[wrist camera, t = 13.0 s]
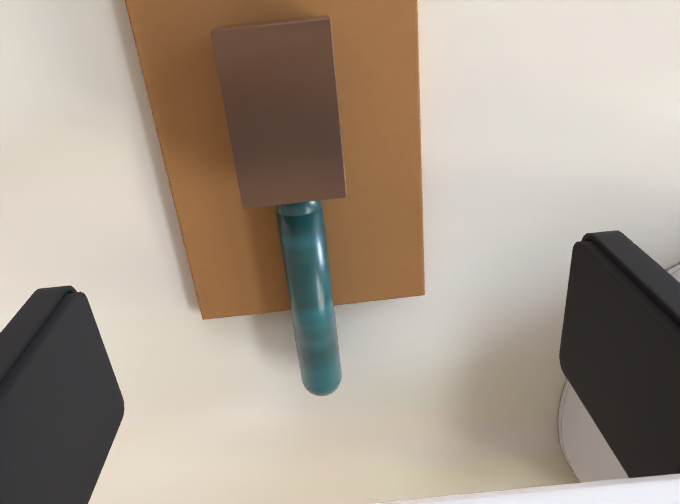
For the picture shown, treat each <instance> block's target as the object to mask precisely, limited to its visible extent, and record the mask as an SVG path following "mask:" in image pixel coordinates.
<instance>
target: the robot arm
mask: <svg viewBox="0 0 680 504" xmlns="http://www.w3.org/2000/svg"><path fill="white" fill-rule="evenodd" d="M559 358H560V364H561V368H562V371H563V373H564V375H565V376H566V378H567V379H568V381H569V383H570V384H571V386H572V387H573V389H574V391H575V392H576V394H577V395H578V397H579V399H580V400H581V402H582V403H583V405H584V407H585V408H586V410H587V411H588V413H589V415H590V416H591V418H592V419H593V421H594V423H595V424H596V426H597V427H598V429H599V431H600V432H601V434H602V435H603V437H604V439H605V440H606V442H607V443H608V445H609V447H610V448H611V450H612V452H613V453H614V455H615V456H616V458H617V460H618V461H619V463H620V464H621V466H622V468H623V469H624V471H625V472H626V474H627V476H628V477H629V478H626V479H614V480H603V481H592V482H582V483H572V484H562V485H551V486H541V487H531V488H521V489H511V490H500V491H490V492H480V493H470V494H459V495H449V496H439V497H429V498H420V499H410V500H400V501H390V502H381V503H371V504H680V282H678V281H677V280H676V279H675V278H674V277H673V276H672V275H670V274H669V273H668V272H667V271H666V270H665V269H663V268H662V267H661V266H660V265H659V264H658V263H656V262H655V261H654V260H653V259H652V258H651V257H649V256H648V255H647V254H646V253H645V252H644V251H642V250H641V249H640V248H639V247H638V246H637V245H635V244H634V243H633V242H632V241H631V240H630V239H628V238H627V237H626V236H625V235H624V234H623V233H621V232H620V231H607V232H597V233H587V234H585V235H584V237H583V238H582V241H581V242H576V243H575V244H574V246H573V251H572V259H571V267H570V274H569V282H568V290H567V298H566V306H565V314H564V322H563V330H562V337H561V345H560V354H559ZM123 415H124V401H123V397H122V394H121V391H120V389H119V386H118V383H117V380H116V377H115V375H114V372H113V369H112V366H111V363H110V361H109V358H108V355H107V352H106V349H105V347H104V344H103V341H102V338H101V335H100V333H99V330H98V327H97V324H96V321H95V319H94V316H93V313H92V310H91V308H90V305H89V302H88V299H87V297H86V295H85V294H84V293H82V292H77V291H76V290H75V289H74V288H73V287H72V286H61V287H51V288H41V289H37V290H36V291H35V292H34V293H33V294H32V296H31V297H30V298H29V299H28V300H27V302H26V303H25V304H24V305H23V306H22V308H21V309H20V310H19V311H18V312H17V314H16V315H15V316H14V317H13V318H12V320H11V321H10V322H9V323H8V324H7V326H6V327H5V328H4V329H3V331H2V332H1V333H0V504H88V502H89V500H90V497H91V495H92V492H93V490H94V487H95V485H96V483H97V480H98V478H99V475H100V473H101V470H102V468H103V465H104V463H105V460H106V458H107V455H108V453H109V450H110V448H111V446H112V443H113V441H114V438H115V436H116V433H117V431H118V428H119V426H120V423H121V421H122V418H123Z"/></svg>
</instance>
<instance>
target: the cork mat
mask: <svg viewBox="0 0 680 504" xmlns="http://www.w3.org/2000/svg"><path fill="white" fill-rule="evenodd" d="M125 2H126V6H127V10H128V14H129V18H130V22H131V26H132V31H133V35H134V39H135V43H136V47H137V51H138V55H139V59H140V63H141V68H142V72H143V76H144V80H145V84H146V88H147V92H148V96H149V100H150V105H151V109H152V113H153V117H154V121H155V125H156V129H157V133H158V137H159V142H160V146H161V150H162V154H163V158H164V162H165V166H166V170H167V174H168V178H169V183H170V187H171V191H172V195H173V199H174V203H175V207H176V211H177V215H178V220H179V224H180V228H181V232H182V236H183V240H184V244H185V248H186V252H187V257H188V261H189V265H190V269H191V273H192V277H193V281H194V285H195V289H196V294H197V298H198V302H199V306H200V310H201V314H202V318H203V319H213V318H222V317H231V316H240V315H249V314H258V313H267V312H276V311H285V310H291V307H290V301H289V294H288V288H287V281H286V275H285V268H284V262H283V256H282V249H281V243H280V236H279V230H278V223H277V217H276V211H275V205H274V206H264V207H255V208H246V209H243V206H242V200H241V195H240V189H239V184H238V179H237V173H236V168H235V162H234V157H233V151H232V146H231V141H230V135H229V130H228V124H227V119H226V113H225V108H224V103H223V97H222V92H221V86H220V81H219V75H218V70H217V65H216V59H215V54H214V48H213V43H212V37H211V30H213V29H215V28H216V27H218V26H225V25H235V24H245V23H254V22H264V21H274V20H283V19H293V18H303V17H312V16H322V15H328V16H329V17H330V19H331V25H332V36H333V47H334V58H335V69H336V80H337V91H338V102H339V113H340V124H341V135H342V146H343V157H344V168H345V179H346V190H347V197H346V198H338V199H329V200H321V201H322V207H323V215H324V224H325V233H326V242H327V250H328V259H329V268H330V277H331V286H332V294H333V303H334V305H339V304H348V303H357V302H366V301H375V300H385V299H394V298H403V297H412V296H421V295H425V284H424V246H423V207H422V168H421V129H420V90H419V51H418V13H417V0H125Z"/></svg>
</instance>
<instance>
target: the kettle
mask: <svg viewBox="0 0 680 504" xmlns="http://www.w3.org/2000/svg"><path fill="white" fill-rule="evenodd" d="M667 272H668V273H669V274H670V275H672V276H673V277H674V278H675V279H676V280H677V281H678V282H680V264H678V265H676V266H675V267H673V268H671V269H669V270H668V271H667ZM558 430H559V439H560V443H561V447H562V451H563V453H564V456H565V458H566V460H567V462H568V464H569V466H570V468H571V470H572V471H573V473H574V474H575V476H576V477H577V478H578V480H579V481H580V483H582V482H592V481H603V480H614V479H626V478H629V477H628V476H627V474H626V472H625V471H624V469H623V468H622V466H621V464H620V463H619V461H618V460H617V458H616V456H615V455H614V453H613V452H612V450H611V448H610V447H609V445H608V443H607V442H606V440H605V439H604V437H603V435H602V434H601V432H600V431H599V429H598V427H597V426H596V424H595V423H594V421H593V419H592V418H591V416H590V415H589V413H588V411H587V410H586V408H585V407H584V405H583V403H582V402H581V400H580V399H579V397H578V395H577V394H576V392H575V391H574V389H573V387H572V386H571V384H570V383H569V381H568V379H567V381H566V384H565V387H564V390H563V393H562V397H561V402H560V407H559V416H558Z"/></svg>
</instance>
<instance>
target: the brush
mask: <svg viewBox="0 0 680 504" xmlns="http://www.w3.org/2000/svg"><path fill="white" fill-rule="evenodd" d="M211 37H212V43H213V48H214V54H215V59H216V65H217V70H218V75H219V81H220V86H221V92H222V97H223V103H224V108H225V113H226V119H227V124H228V130H229V135H230V141H231V146H232V151H233V157H234V162H235V168H236V173H237V179H238V184H239V189H240V195H241V200H242V206H243V209H246V208H255V207H264V206H274V205H275V211H276V217H277V223H278V230H279V236H280V243H281V249H282V256H283V262H284V268H285V275H286V281H287V288H288V294H289V301H290V307H291V313H292V320H293V326H294V333H295V339H296V345H297V352H298V358H299V365H300V371H301V378H302V382H303V384H304V386H305V388H306V389H307V390H308V391H309V392H310V393H312V394H314V395H317V396H326V395H329V394H331V393H333V392H334V391H335V390H336V389H337V388H338V386H339V384H340V382H341V365H340V356H339V347H338V338H337V330H336V321H335V312H334V303H333V294H332V286H331V277H330V268H329V259H328V250H327V242H326V233H325V224H324V215H323V207H322V201H321V200H329V199H338V198H346V197H347V190H346V179H345V168H344V157H343V146H342V135H341V124H340V113H339V102H338V91H337V80H336V69H335V58H334V47H333V36H332V25H331V19H330V17H329V16H328V15H322V16H312V17H303V18H293V19H283V20H274V21H264V22H254V23H245V24H235V25H225V26H218V27H216V28H215V29H213V30H211Z"/></svg>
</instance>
